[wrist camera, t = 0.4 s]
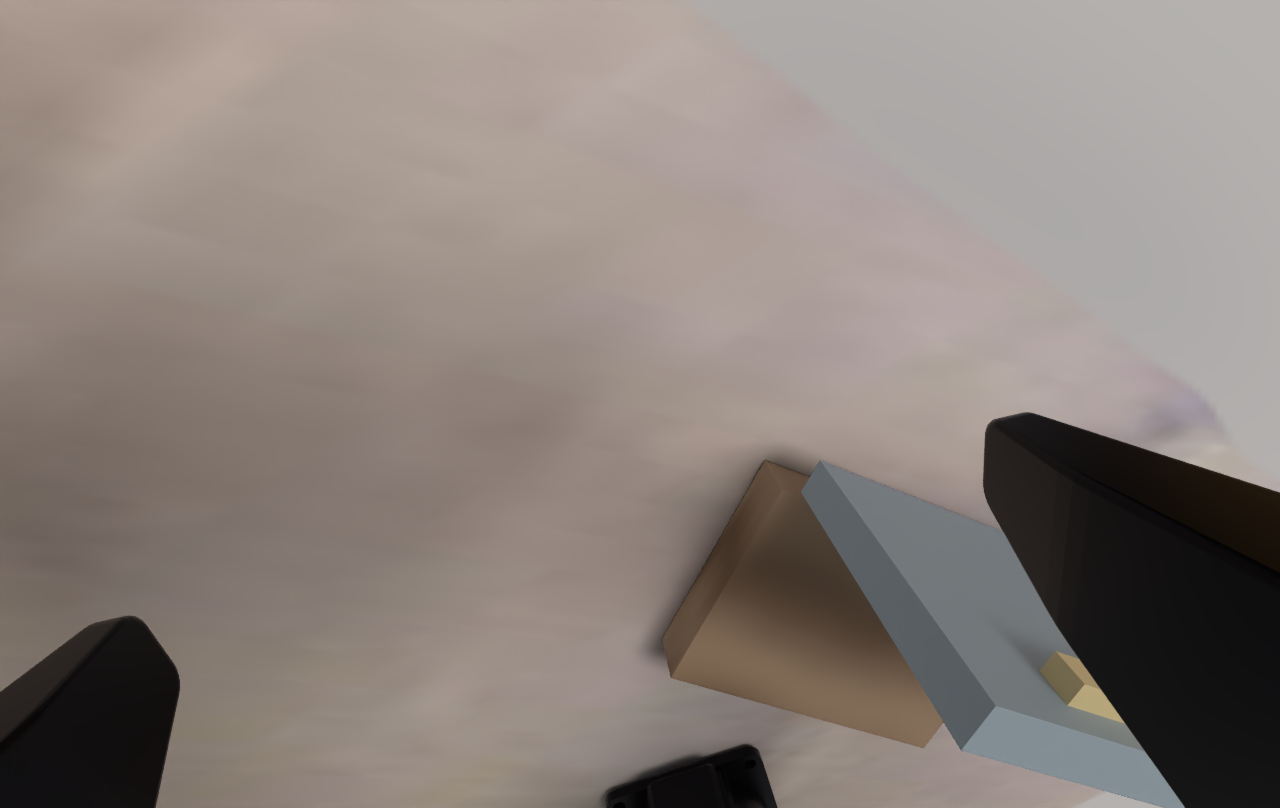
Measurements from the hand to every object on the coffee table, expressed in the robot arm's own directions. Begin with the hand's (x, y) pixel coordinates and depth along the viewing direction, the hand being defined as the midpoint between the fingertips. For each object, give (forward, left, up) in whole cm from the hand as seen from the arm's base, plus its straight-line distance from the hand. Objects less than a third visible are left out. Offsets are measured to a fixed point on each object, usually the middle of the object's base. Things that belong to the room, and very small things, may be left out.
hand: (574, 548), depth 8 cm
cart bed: (-16, -6, -16) cm, 23 cm away
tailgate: (-12, -9, -13) cm, 20 cm away
